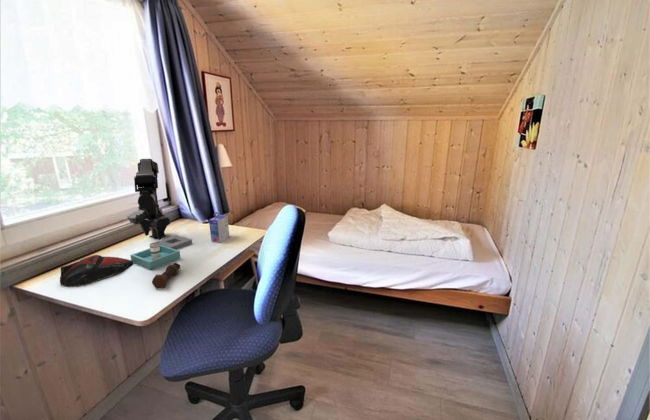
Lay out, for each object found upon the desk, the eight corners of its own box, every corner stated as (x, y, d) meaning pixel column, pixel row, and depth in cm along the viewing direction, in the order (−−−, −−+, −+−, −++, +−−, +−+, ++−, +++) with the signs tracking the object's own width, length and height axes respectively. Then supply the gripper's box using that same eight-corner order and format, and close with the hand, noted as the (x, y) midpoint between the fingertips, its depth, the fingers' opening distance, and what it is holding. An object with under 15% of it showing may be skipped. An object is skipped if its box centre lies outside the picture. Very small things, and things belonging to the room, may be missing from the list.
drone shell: (52, 289, 115) (47, 269, 113) (80, 265, 134) (76, 248, 132) (116, 284, 120) (113, 264, 118) (135, 262, 138) (132, 245, 136)
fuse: (149, 259, 139) (147, 244, 137) (157, 256, 142) (155, 241, 140) (154, 261, 137) (152, 246, 135) (162, 257, 140) (161, 243, 138)
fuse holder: (155, 246, 154) (154, 242, 154) (176, 238, 164) (176, 235, 164) (170, 251, 149) (170, 247, 148) (192, 243, 159) (191, 239, 158)
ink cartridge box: (220, 235, 171) (218, 210, 167) (229, 236, 170) (228, 210, 166) (210, 242, 161) (208, 215, 157) (219, 243, 160) (217, 216, 156)
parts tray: (131, 262, 137) (130, 254, 136) (161, 251, 149) (160, 244, 148) (150, 270, 131) (149, 262, 130) (180, 258, 142) (179, 251, 141)
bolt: (179, 274, 132) (162, 291, 117) (168, 268, 131) (149, 285, 117) (185, 263, 131) (168, 279, 116) (174, 257, 130) (155, 273, 116)
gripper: (116, 203, 130) (122, 238, 134) (142, 210, 121) (148, 248, 125) (142, 198, 139) (147, 231, 144) (169, 204, 131) (173, 239, 135)
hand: (153, 237), depth 137 cm, fingers open, 9 cm apart
